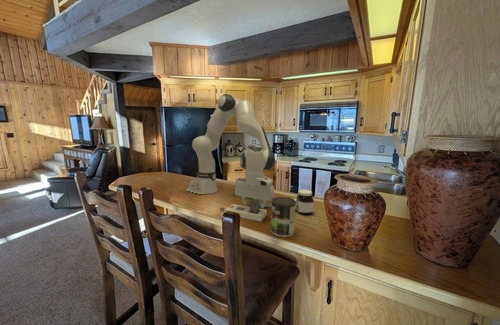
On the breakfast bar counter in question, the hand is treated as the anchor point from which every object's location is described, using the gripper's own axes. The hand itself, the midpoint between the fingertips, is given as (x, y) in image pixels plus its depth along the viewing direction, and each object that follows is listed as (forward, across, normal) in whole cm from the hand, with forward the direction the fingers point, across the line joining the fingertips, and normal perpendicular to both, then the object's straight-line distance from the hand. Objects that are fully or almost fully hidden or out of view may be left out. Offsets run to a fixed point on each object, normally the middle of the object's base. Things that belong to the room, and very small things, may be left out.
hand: (253, 206), depth 108 cm
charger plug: (+5, 0, 0) cm, 5 cm away
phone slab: (+6, 0, +18) cm, 19 cm away
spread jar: (+6, +20, +17) cm, 27 cm away
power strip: (+6, -7, 0) cm, 9 cm away
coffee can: (+6, +18, -9) cm, 20 cm away
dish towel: (+7, -15, +36) cm, 39 cm away
